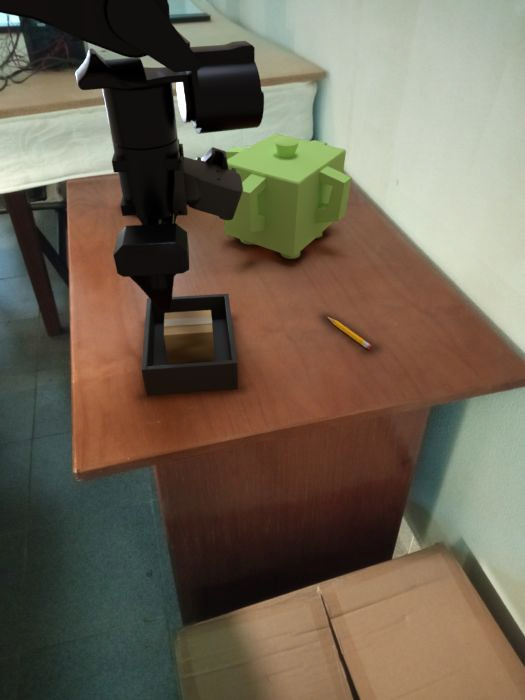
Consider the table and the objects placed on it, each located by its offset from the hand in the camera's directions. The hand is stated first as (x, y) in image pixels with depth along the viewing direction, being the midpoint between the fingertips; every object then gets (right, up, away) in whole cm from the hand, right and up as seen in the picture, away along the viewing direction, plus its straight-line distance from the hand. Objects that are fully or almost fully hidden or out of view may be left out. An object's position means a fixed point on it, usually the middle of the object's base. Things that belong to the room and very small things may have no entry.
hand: (166, 284), depth 54 cm
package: (+1, -7, +12) cm, 14 cm away
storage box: (+14, +13, +36) cm, 41 cm away
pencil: (+23, -5, +16) cm, 28 cm away
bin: (+1, -8, +12) cm, 14 cm away
